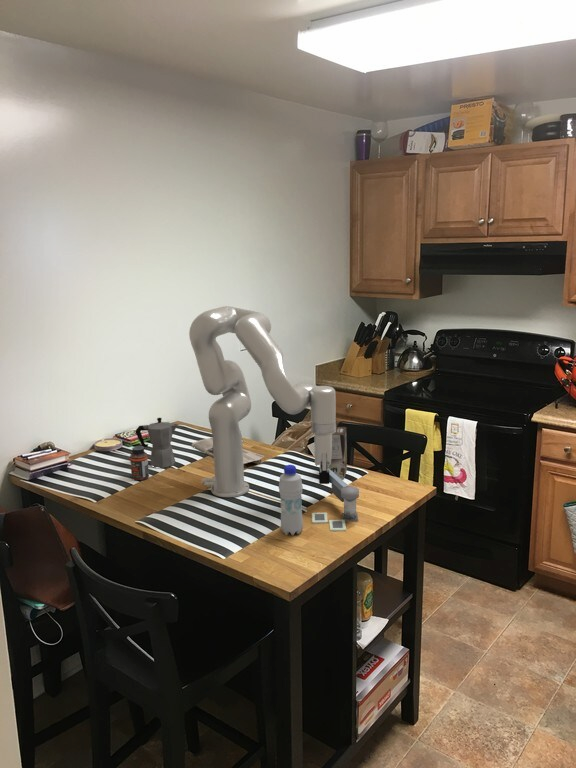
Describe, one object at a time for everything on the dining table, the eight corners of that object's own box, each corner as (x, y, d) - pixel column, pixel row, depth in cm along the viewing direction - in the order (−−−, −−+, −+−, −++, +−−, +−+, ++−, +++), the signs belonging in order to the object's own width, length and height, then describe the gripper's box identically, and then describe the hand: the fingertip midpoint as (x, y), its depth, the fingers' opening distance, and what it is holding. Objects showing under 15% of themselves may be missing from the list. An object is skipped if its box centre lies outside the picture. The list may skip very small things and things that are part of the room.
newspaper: (191, 447, 250) (191, 439, 249) (218, 440, 257) (217, 432, 256) (240, 472, 222) (240, 463, 222) (268, 464, 230) (268, 454, 229)
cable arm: (361, 510, 181) (361, 491, 180) (345, 513, 180) (345, 494, 178) (333, 484, 200) (333, 467, 199) (318, 487, 199) (318, 469, 197)
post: (343, 521, 182) (342, 500, 180) (342, 514, 186) (342, 494, 184) (358, 521, 182) (358, 500, 180) (356, 514, 186) (356, 494, 184)
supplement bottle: (128, 480, 217) (125, 449, 214) (138, 474, 222) (135, 444, 220) (142, 482, 215) (139, 451, 212) (152, 475, 220) (149, 445, 217)
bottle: (279, 526, 179) (277, 461, 175) (302, 525, 180) (300, 460, 175) (281, 538, 173) (278, 470, 168) (305, 536, 173) (303, 469, 169)
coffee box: (344, 479, 212) (344, 434, 208) (325, 478, 213) (325, 434, 209) (347, 470, 220) (347, 426, 217) (329, 469, 222) (328, 425, 218)
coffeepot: (180, 457, 237) (176, 412, 233) (181, 466, 228) (178, 419, 224) (138, 462, 234) (134, 416, 230) (138, 471, 225) (134, 423, 221)
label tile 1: (312, 523, 181) (312, 521, 181) (311, 514, 187) (311, 512, 187) (327, 522, 181) (327, 521, 181) (326, 513, 187) (326, 512, 187)
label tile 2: (330, 531, 176) (330, 529, 176) (329, 521, 182) (329, 519, 182) (346, 530, 176) (346, 529, 176) (344, 521, 182) (344, 519, 182)
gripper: (311, 419, 196) (312, 473, 201) (311, 434, 182) (312, 493, 186) (334, 419, 196) (335, 473, 200) (337, 434, 181) (337, 492, 186)
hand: (324, 482), depth 193 cm, fingers closed
